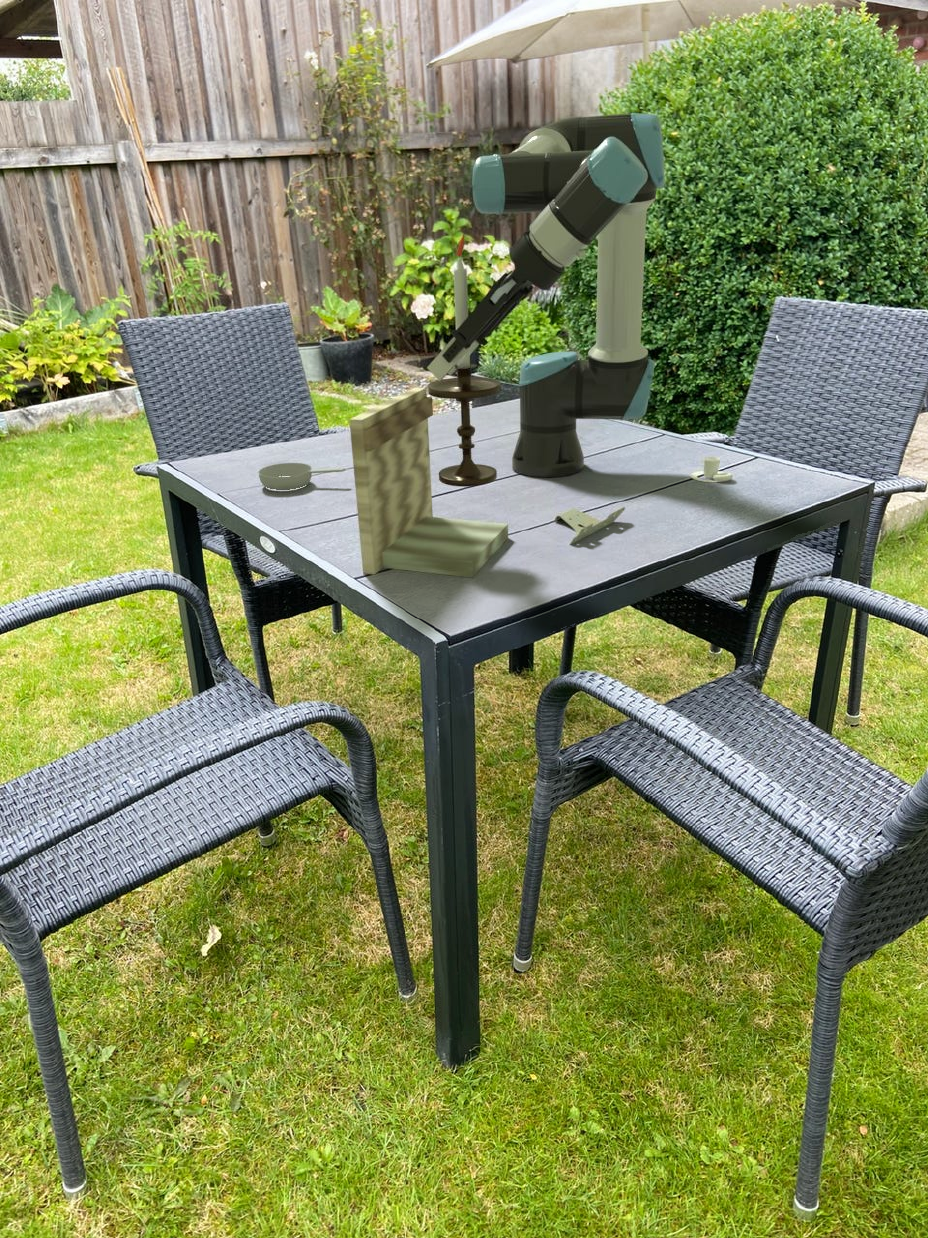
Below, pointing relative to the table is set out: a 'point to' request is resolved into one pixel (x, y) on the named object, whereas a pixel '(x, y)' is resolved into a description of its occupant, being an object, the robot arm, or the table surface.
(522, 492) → the table surface
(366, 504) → the pale wooden blocky structure
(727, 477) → the teacup and saucer
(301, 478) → the small pan
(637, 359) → the robot arm
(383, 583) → the table surface
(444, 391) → the candlestick
